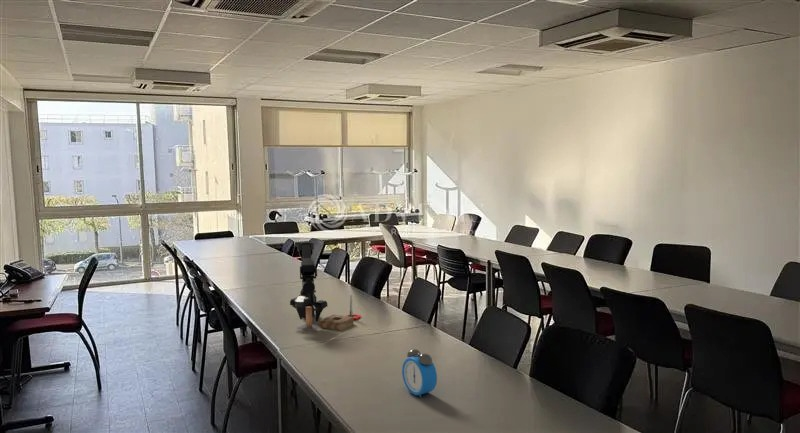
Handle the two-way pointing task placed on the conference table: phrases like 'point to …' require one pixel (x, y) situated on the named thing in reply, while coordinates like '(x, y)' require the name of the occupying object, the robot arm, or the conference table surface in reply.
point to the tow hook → (352, 311)
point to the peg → (308, 317)
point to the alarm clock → (419, 373)
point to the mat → (308, 328)
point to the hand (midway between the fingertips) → (308, 320)
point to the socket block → (336, 322)
